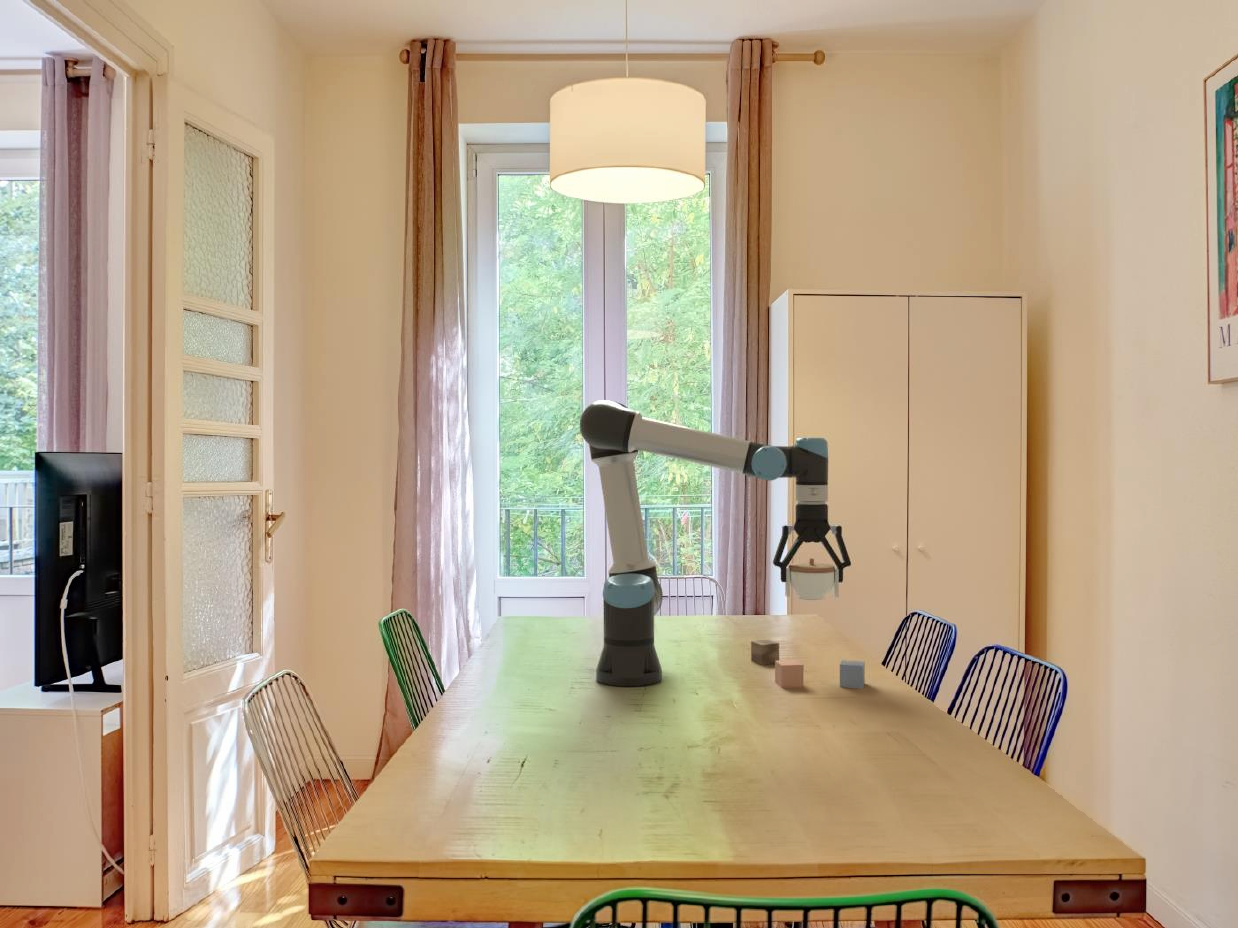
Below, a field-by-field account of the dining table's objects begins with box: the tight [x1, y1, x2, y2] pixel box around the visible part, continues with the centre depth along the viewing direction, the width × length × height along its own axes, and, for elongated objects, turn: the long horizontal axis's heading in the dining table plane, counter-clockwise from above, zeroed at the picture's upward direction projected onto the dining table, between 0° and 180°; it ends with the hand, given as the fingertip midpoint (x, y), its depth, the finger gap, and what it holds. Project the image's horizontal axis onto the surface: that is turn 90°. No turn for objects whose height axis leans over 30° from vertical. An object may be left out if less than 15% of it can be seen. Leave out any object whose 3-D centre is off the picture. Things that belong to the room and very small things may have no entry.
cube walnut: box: [750, 639, 780, 666], centre depth 243 cm, size 5×5×5 cm
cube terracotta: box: [774, 659, 804, 689], centre depth 220 cm, size 5×5×5 cm
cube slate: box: [839, 659, 866, 689], centre depth 220 cm, size 5×5×5 cm
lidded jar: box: [788, 557, 836, 601], centre depth 232 cm, size 11×11×9 cm
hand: (811, 596), depth 233 cm, fingers closed on lidded jar, 11 cm apart
